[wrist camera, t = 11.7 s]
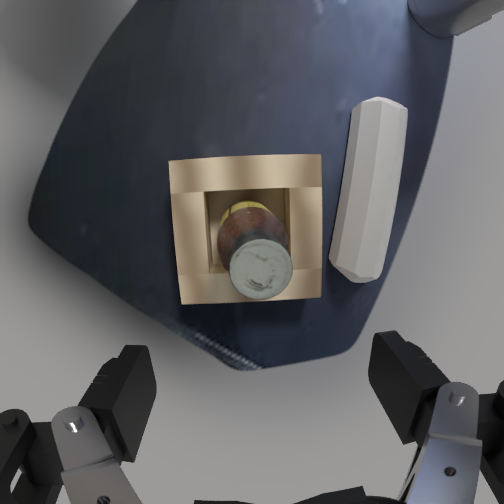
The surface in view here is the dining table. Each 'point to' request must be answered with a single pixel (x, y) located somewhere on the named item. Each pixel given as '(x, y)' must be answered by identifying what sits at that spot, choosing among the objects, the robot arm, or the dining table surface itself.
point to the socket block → (239, 189)
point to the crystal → (369, 188)
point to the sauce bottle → (254, 250)
